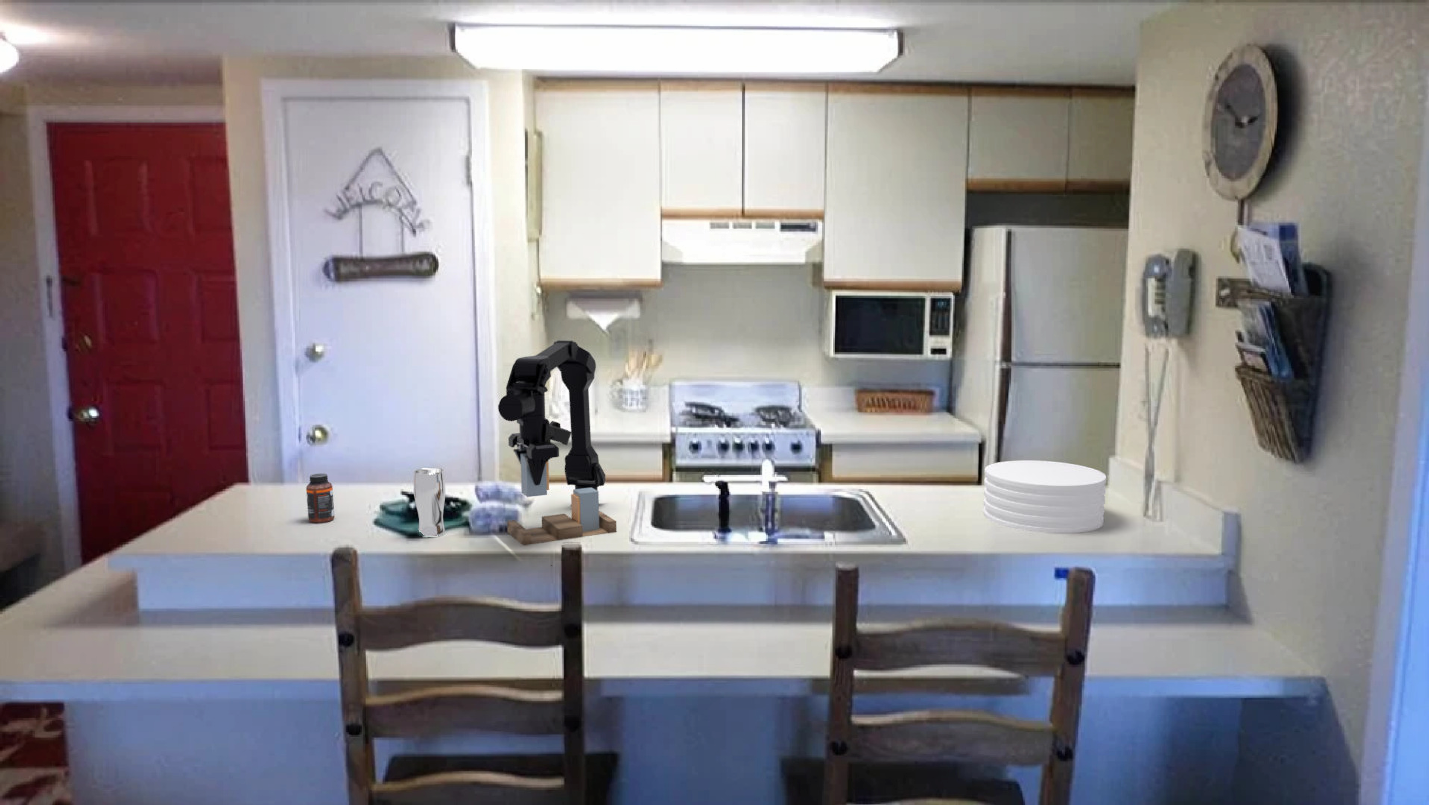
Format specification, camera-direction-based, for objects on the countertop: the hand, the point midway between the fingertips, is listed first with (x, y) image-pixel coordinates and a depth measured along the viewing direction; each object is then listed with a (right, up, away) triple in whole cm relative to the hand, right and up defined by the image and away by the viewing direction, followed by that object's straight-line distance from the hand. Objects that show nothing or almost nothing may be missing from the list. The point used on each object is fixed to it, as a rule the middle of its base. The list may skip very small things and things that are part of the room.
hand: (534, 483), depth 219 cm
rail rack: (+6, -13, +5) cm, 15 cm away
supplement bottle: (-55, -11, +19) cm, 59 cm away
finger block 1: (0, -3, 0) cm, 2 cm away
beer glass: (-25, -13, +7) cm, 29 cm away
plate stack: (+121, -10, +20) cm, 123 cm away
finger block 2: (+11, -11, +7) cm, 17 cm away
